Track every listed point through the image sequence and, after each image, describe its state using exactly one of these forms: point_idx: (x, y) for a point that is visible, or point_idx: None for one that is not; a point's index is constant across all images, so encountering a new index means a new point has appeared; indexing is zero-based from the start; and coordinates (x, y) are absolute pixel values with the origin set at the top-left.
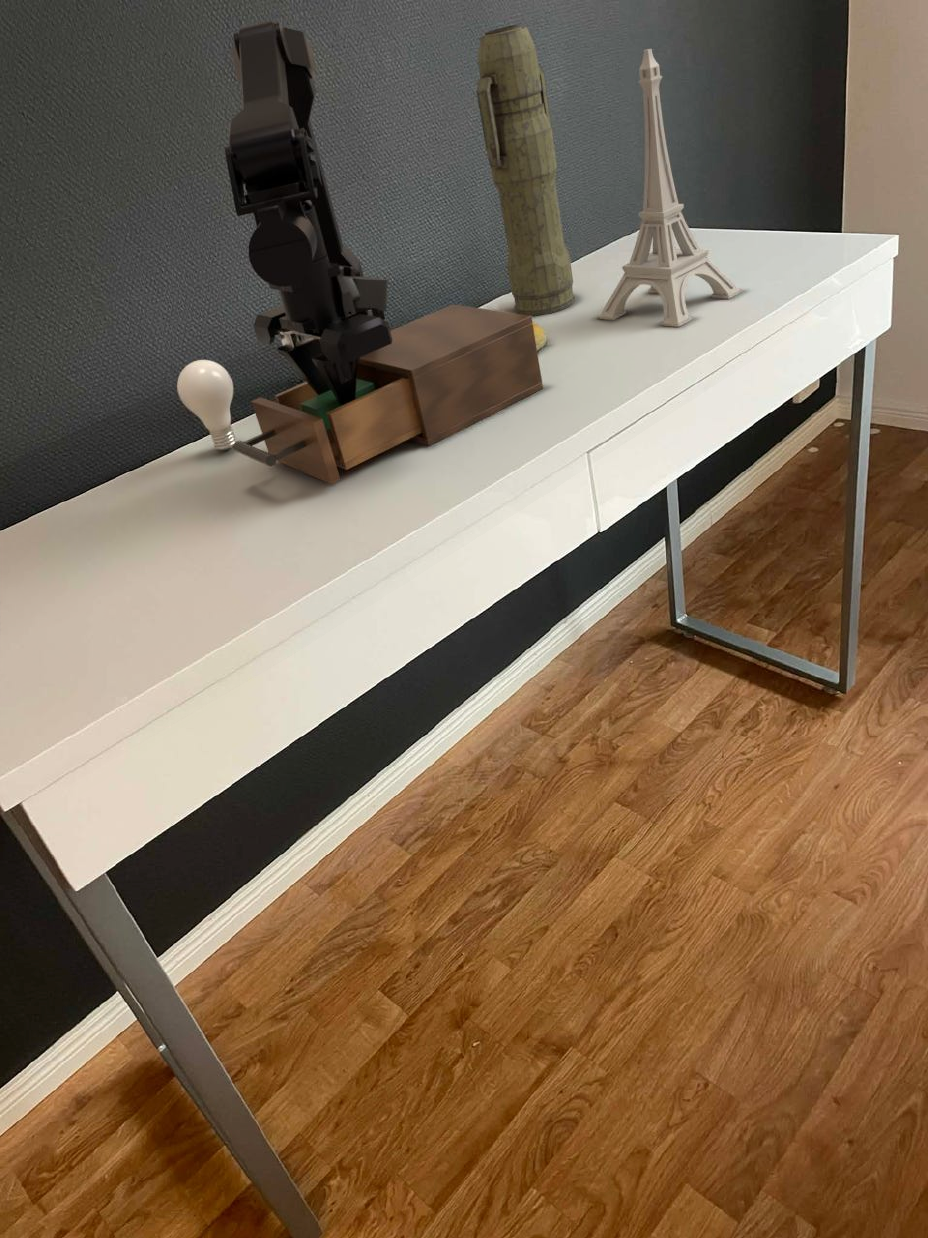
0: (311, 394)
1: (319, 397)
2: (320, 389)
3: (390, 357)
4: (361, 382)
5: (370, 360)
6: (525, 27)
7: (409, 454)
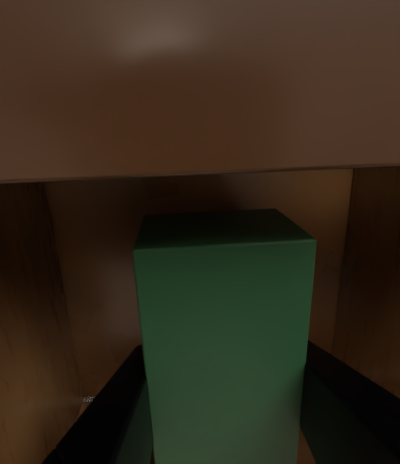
0: (15, 406)
1: (186, 455)
2: (147, 453)
3: (352, 24)
4: (232, 270)
5: (208, 172)
6: None
7: None
